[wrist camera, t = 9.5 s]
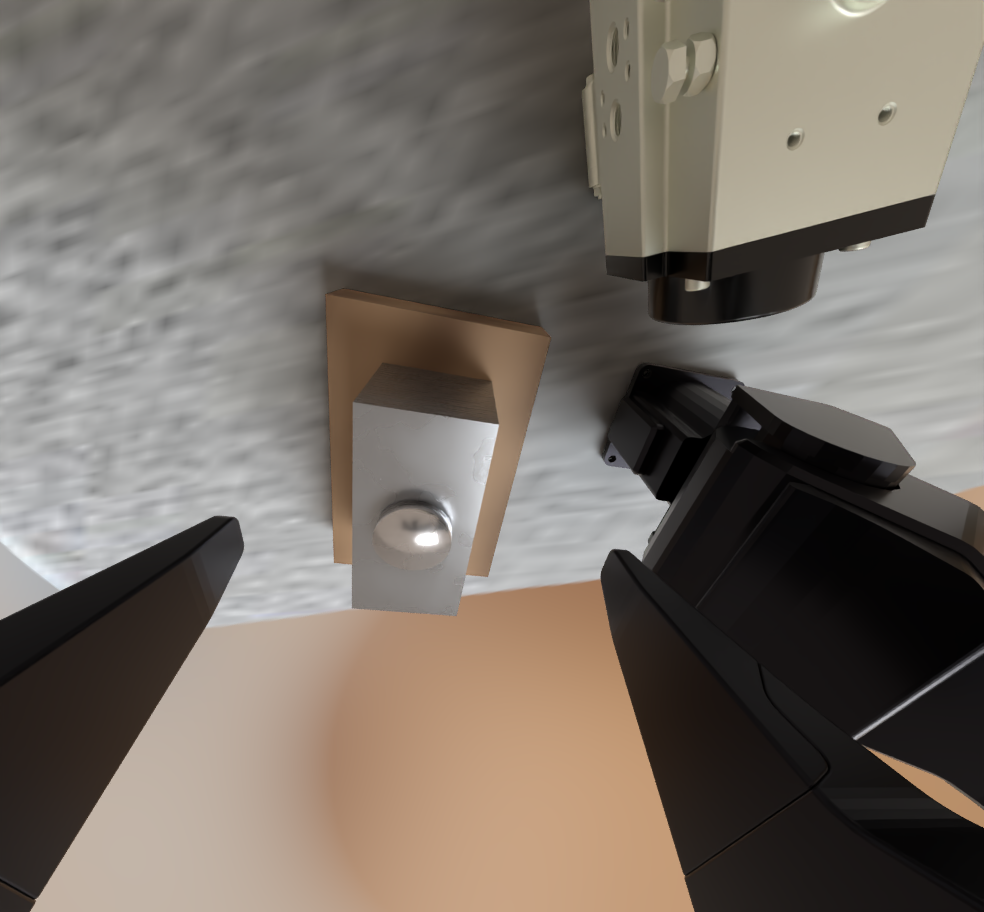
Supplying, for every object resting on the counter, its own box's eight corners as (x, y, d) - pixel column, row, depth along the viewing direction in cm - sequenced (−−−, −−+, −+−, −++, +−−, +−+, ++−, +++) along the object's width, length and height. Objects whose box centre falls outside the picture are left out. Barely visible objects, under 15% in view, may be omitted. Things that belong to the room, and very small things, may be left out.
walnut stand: (541, 327, 19) (551, 337, 17) (486, 549, 27) (487, 576, 24) (343, 288, 17) (325, 294, 15) (345, 535, 25) (334, 562, 23)
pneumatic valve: (685, -112, 12) (2025, -2344, 2) (676, 270, 18) (961, 303, 8) (523, -59, 12) (794, -1597, 2) (565, 299, 18) (692, 367, 8)
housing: (458, 546, 23) (455, 630, 18) (375, 537, 22) (347, 622, 17) (491, 380, 18) (500, 434, 13) (382, 362, 17) (346, 411, 12)
